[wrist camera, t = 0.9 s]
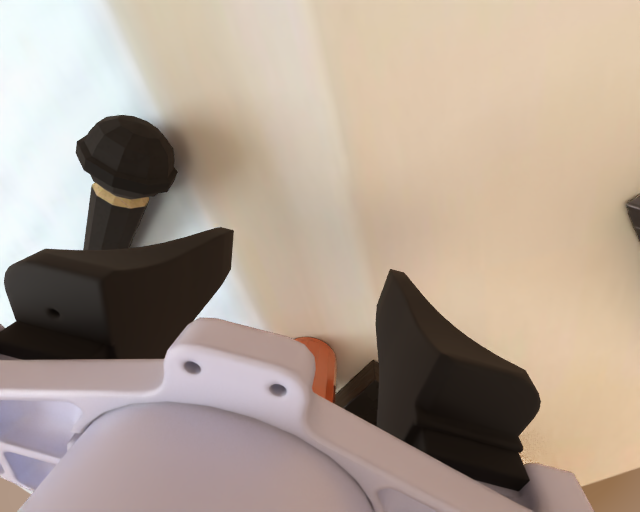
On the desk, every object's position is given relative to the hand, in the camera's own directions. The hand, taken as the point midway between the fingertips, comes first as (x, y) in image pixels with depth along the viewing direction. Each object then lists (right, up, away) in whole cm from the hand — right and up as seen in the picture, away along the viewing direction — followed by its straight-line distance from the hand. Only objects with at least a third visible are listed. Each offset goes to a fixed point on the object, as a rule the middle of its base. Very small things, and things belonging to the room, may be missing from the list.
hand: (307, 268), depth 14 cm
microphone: (-16, +3, +12) cm, 20 cm away
